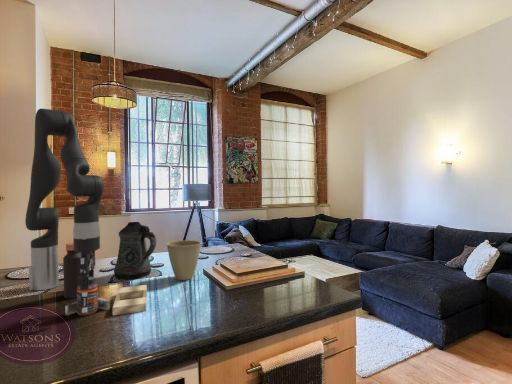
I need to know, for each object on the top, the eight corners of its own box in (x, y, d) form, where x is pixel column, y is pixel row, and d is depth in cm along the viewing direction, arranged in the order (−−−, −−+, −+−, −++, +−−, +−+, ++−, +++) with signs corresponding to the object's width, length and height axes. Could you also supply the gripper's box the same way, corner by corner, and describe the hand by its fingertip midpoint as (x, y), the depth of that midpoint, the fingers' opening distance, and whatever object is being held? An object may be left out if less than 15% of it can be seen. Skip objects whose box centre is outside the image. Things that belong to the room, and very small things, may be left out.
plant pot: (197, 283, 124) (196, 246, 124) (162, 283, 124) (162, 246, 124) (204, 273, 139) (203, 239, 139) (173, 273, 139) (172, 240, 139)
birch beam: (112, 315, 93) (112, 307, 93) (119, 294, 112) (119, 287, 112) (146, 310, 96) (145, 303, 96) (146, 291, 115) (146, 284, 115)
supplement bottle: (88, 317, 92) (88, 281, 92) (72, 315, 93) (72, 280, 93) (102, 309, 98) (101, 276, 98) (86, 308, 99) (86, 275, 99)
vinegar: (88, 293, 113) (87, 242, 112) (71, 300, 106) (70, 245, 106) (77, 291, 115) (76, 241, 115) (59, 297, 109) (58, 244, 109)
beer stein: (118, 271, 144) (117, 221, 143) (159, 268, 148) (158, 219, 148) (109, 281, 127) (108, 225, 127) (156, 278, 132) (155, 223, 132)
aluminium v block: (64, 315, 93) (64, 306, 93) (70, 306, 100) (70, 298, 100) (109, 309, 97) (109, 300, 97) (112, 301, 105) (112, 293, 105)
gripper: (78, 233, 100) (79, 279, 101) (67, 240, 87) (68, 293, 87) (102, 231, 103) (103, 277, 103) (95, 238, 90) (96, 290, 90)
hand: (87, 284), depth 95 cm, fingers open, 8 cm apart
